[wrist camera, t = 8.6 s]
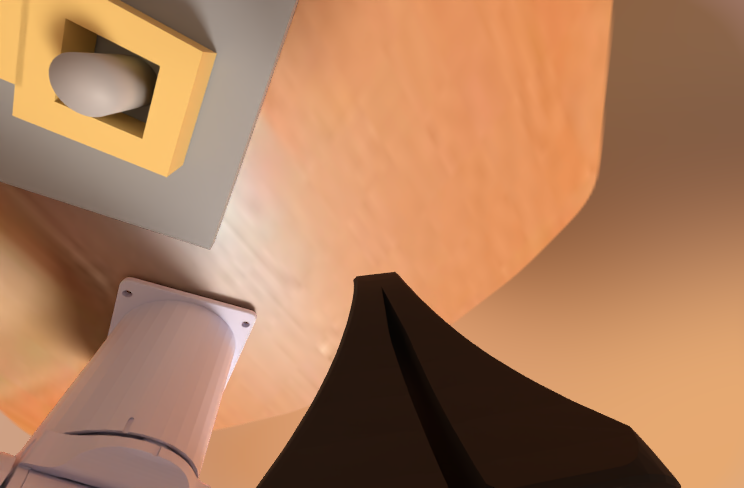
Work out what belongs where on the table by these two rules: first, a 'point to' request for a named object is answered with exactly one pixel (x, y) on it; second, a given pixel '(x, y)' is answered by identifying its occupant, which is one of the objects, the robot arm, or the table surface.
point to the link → (78, 34)
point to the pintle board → (133, 97)
